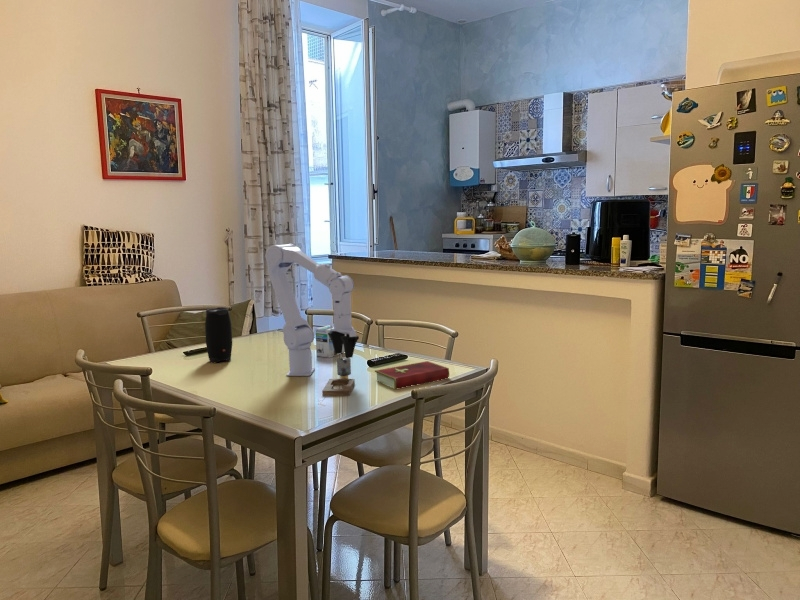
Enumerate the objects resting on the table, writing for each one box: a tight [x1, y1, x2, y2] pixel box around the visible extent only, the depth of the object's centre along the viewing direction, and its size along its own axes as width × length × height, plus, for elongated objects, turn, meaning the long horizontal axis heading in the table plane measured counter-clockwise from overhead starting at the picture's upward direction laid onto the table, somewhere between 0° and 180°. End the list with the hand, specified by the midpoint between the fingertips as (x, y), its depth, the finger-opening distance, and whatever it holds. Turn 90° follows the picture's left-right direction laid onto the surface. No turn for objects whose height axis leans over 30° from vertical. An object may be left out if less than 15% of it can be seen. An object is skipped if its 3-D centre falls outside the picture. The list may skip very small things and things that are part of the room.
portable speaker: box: [204, 306, 233, 363], centre depth 224 cm, size 9×9×20 cm
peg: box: [336, 356, 352, 379], centre depth 197 cm, size 4×4×7 cm
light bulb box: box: [315, 324, 346, 359], centre depth 232 cm, size 11×7×11 cm, turn 148°
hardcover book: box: [374, 360, 450, 390], centre depth 196 cm, size 12×21×4 cm, turn 123°
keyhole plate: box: [321, 378, 356, 397], centre depth 186 cm, size 13×8×2 cm, turn 177°
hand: (343, 355), depth 196 cm, fingers open, 7 cm apart
